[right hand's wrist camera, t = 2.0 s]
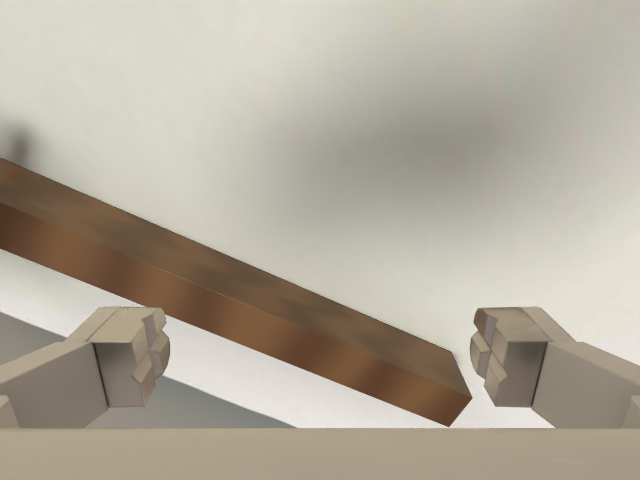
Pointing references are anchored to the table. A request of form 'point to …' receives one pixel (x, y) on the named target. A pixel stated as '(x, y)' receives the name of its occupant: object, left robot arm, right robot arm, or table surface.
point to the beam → (223, 295)
